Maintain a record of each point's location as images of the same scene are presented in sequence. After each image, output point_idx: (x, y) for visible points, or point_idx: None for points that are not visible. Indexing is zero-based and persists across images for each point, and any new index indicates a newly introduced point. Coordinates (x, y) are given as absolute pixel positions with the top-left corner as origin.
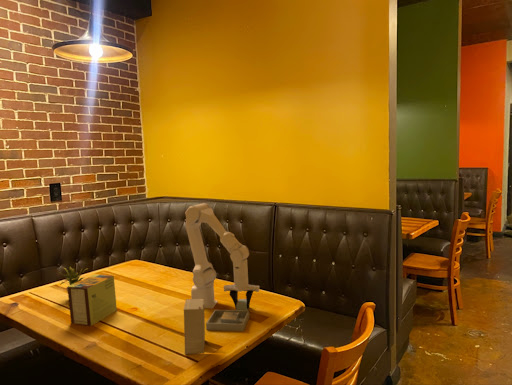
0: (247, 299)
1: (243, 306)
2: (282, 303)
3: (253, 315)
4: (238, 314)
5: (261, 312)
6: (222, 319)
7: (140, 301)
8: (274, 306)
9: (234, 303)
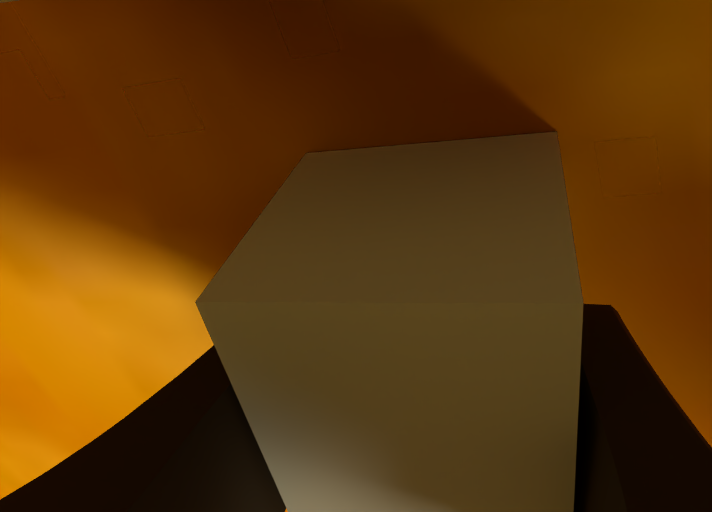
0: (91, 504)
1: (301, 267)
2: (18, 474)
3: (139, 121)
4: None
5: (82, 258)
6: None
7: None
8: (44, 422)
9: (681, 421)
